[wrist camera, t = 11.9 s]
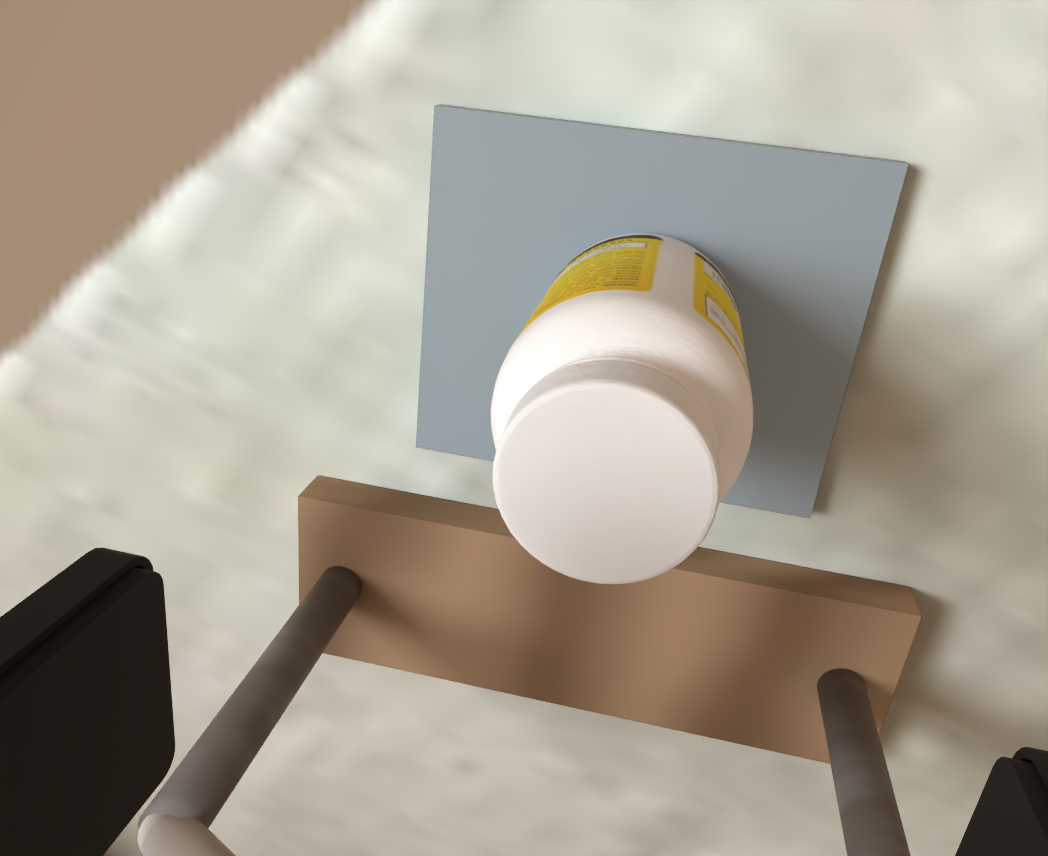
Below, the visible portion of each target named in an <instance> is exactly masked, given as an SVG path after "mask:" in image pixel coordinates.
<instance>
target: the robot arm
mask: <svg viewBox="0 0 1048 856" xmlns="http://www.w3.org/2000/svg"><path fill="white" fill-rule="evenodd" d="M174 752H175V737H174V723H173V709H172V695H171V681H170V667H169V654H168V640H167V626H166V612H165V598H164V584H163V579H162V577H161V575H160V574H159V573H157V572H154V571H153V567H152V564H151V562H150V561H149V559H147V558H145V557H143V556H139V555H134V554H130V553H125V552H120V551H116V550H111V549H106V548H95V549H93V550H91V551H89V552H88V553H86V554H85V555H84V556H82V557H81V558H80V559H78V560H77V561H76V562H74V563H73V564H71V565H70V566H69V567H67V568H66V569H65V570H63V571H62V572H61V573H59V574H58V575H57V576H55V577H54V578H53V579H51V580H50V581H49V582H47V583H46V584H45V585H43V586H42V587H41V588H39V589H38V590H36V591H35V592H34V593H32V594H31V595H30V596H28V597H27V598H26V599H24V600H23V601H22V602H20V603H19V604H18V605H16V606H15V607H14V608H12V609H11V610H10V611H8V612H7V613H5V614H4V615H3V616H1V617H0V856H103V855H104V853H105V852H106V851H107V850H108V848H109V847H110V846H111V845H112V843H113V842H114V841H115V840H116V838H117V837H118V836H119V835H120V833H121V832H122V831H123V829H124V828H125V827H126V826H127V824H128V823H129V822H130V821H131V819H132V818H133V817H134V816H135V814H136V813H137V812H138V811H139V809H140V808H141V807H142V806H143V804H144V803H145V802H146V800H147V799H148V798H149V797H150V795H151V794H152V793H153V792H154V790H155V789H156V788H157V787H158V785H159V784H160V783H161V782H162V780H163V779H164V777H165V776H166V774H167V772H168V770H169V768H170V766H171V763H172V760H173V757H174ZM955 856H1048V751H1044V750H1039V749H1035V748H1030V747H1024V748H1021V749H1020V750H1018V751H1017V752H1016V753H1015V755H1014V757H1013V758H1007V757H1000V758H999V759H998V760H997V761H996V762H995V764H994V766H993V768H992V770H991V773H990V775H989V777H988V780H987V782H986V784H985V787H984V789H983V791H982V794H981V796H980V799H979V801H978V803H977V806H976V808H975V810H974V813H973V815H972V817H971V820H970V822H969V824H968V827H967V829H966V831H965V834H964V836H963V839H962V841H961V843H960V846H959V848H958V850H957V853H956V855H955Z"/></svg>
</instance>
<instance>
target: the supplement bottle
mask: <svg viewBox="0 0 1048 856" xmlns="http://www.w3.org/2000/svg"><path fill="white" fill-rule="evenodd" d="M491 428H492V434H493V440H494V444H495V448H496V454H495V458H494V464H493V488H494V494H495V499H496V503H497V506H498V508H499V511H500V514H501V516H502V518H503V520H504V522H505V523H506V525H507V527H508V529H509V530H510V532H511V534H512V535H513V536H514V537H515V538H516V540H517V541H518V542H519V543H520V545H522V546H523V547H524V548H525V549H526V550H527V551H528V552H529V553H530V554H531V555H532V556H534V557H535V558H536V559H538V560H539V561H540V562H542V563H543V564H545V565H546V566H548V567H550V568H551V569H553V570H555V571H557V572H560V573H562V574H564V575H567V576H569V577H572V578H575V579H579V580H583V581H587V582H593V583H599V584H625V583H634V582H639V581H643V580H647V579H650V578H653V577H655V576H658V575H660V574H663V573H665V572H667V571H668V570H670V569H672V568H674V567H675V566H677V565H678V564H680V563H681V562H682V561H684V560H685V559H686V558H687V557H688V556H689V555H690V554H691V553H692V552H694V551H695V550H696V549H697V547H698V546H699V545H700V543H701V542H702V541H703V540H704V538H705V537H706V535H707V533H708V531H709V529H710V527H711V525H712V523H713V521H714V519H715V515H716V512H717V508H718V504H719V502H720V501H721V500H722V499H723V498H724V497H725V496H726V494H727V493H728V492H729V490H730V489H731V488H732V486H733V485H734V483H735V481H736V480H737V478H738V476H739V474H740V472H741V470H742V468H743V465H744V463H745V460H746V457H747V455H748V452H749V448H750V443H751V438H752V432H753V401H752V392H751V386H750V380H749V374H748V367H747V361H746V355H745V349H744V343H743V335H742V328H741V322H740V316H739V311H738V307H737V304H736V301H735V298H734V295H733V293H732V291H731V289H730V287H729V285H728V283H727V281H726V279H725V278H724V276H723V275H722V273H721V272H720V271H719V269H718V268H717V267H716V266H715V265H714V264H713V263H712V262H711V261H710V260H709V259H708V258H707V257H706V256H705V255H703V254H702V253H701V252H699V251H698V250H696V249H695V248H693V247H692V246H690V245H688V244H686V243H684V242H682V241H680V240H677V239H674V238H672V237H668V236H664V235H658V234H652V233H630V234H622V235H618V236H614V237H610V238H607V239H604V240H602V241H600V242H597V243H595V244H594V245H592V246H590V247H588V248H587V249H585V250H584V251H582V252H581V253H580V254H578V255H577V256H576V257H575V258H574V259H572V260H571V261H570V262H569V263H568V264H567V265H566V266H565V267H564V269H563V270H562V271H561V272H560V273H559V275H558V276H557V277H556V279H555V280H554V282H553V283H552V285H551V286H550V288H549V290H548V291H547V293H546V295H545V296H544V298H543V300H542V301H541V303H540V304H539V306H538V307H537V308H536V310H535V311H534V313H533V314H532V316H531V317H530V319H529V320H528V322H527V323H526V325H525V327H524V328H523V330H522V331H521V333H520V334H519V336H518V337H517V339H516V340H515V342H514V343H513V345H512V346H511V348H510V350H509V352H508V354H507V356H506V358H505V360H504V362H503V364H502V366H501V368H500V371H499V374H498V377H497V379H496V383H495V387H494V392H493V397H492V403H491Z"/></svg>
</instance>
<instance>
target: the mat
mask: <svg viewBox="0 0 1048 856" xmlns="http://www.w3.org/2000/svg"><path fill="white" fill-rule="evenodd" d="M908 165H909V164H908V163H906V162H904V161H896V160H888V159H880V158H871V157H863V156H855V155H847V154H839V153H831V152H823V151H814V150H806V149H798V148H790V147H782V146H774V145H766V144H757V143H749V142H741V141H733V140H725V139H717V138H709V137H700V136H692V135H684V134H676V133H668V132H660V131H652V130H643V129H635V128H627V127H619V126H611V125H603V124H595V123H586V122H578V121H570V120H562V119H554V118H546V117H538V116H529V115H521V114H513V113H505V112H497V111H489V110H481V109H472V108H464V107H456V106H448V105H435V106H434V123H433V141H432V160H431V178H430V197H429V215H428V233H427V252H426V270H425V289H424V307H423V325H422V344H421V362H420V381H419V399H418V417H417V436H416V447H417V448H423V449H428V450H434V451H439V452H445V453H450V454H456V455H462V456H467V457H473V458H478V459H484V460H489V461H494V458H495V454H496V448H495V444H494V440H493V434H492V428H491V403H492V397H493V392H494V387H495V383H496V379H497V377H498V374H499V371H500V368H501V366H502V364H503V362H504V360H505V358H506V356H507V354H508V352H509V350H510V348H511V346H512V345H513V343H514V342H515V340H516V339H517V337H518V336H519V334H520V333H521V331H522V330H523V328H524V327H525V325H526V323H527V322H528V320H529V319H530V317H531V316H532V314H533V313H534V311H535V310H536V308H537V307H538V306H539V304H540V303H541V301H542V300H543V298H544V296H545V295H546V293H547V291H548V290H549V288H550V286H551V285H552V283H553V282H554V280H555V279H556V277H557V276H558V275H559V273H560V272H561V271H562V270H563V269H564V267H565V266H566V265H567V264H568V263H569V262H570V261H571V260H572V259H574V258H575V257H576V256H577V255H578V254H580V253H581V252H582V251H584V250H585V249H587V248H588V247H590V246H592V245H594V244H595V243H597V242H600V241H602V240H604V239H607V238H610V237H614V236H618V235H622V234H630V233H652V234H658V235H664V236H668V237H672V238H674V239H677V240H680V241H682V242H684V243H686V244H688V245H690V246H692V247H693V248H695V249H696V250H698V251H699V252H701V253H702V254H703V255H705V256H706V257H707V258H708V259H709V260H710V261H711V262H712V263H713V264H714V265H715V266H716V267H717V268H718V269H719V271H720V272H721V273H722V275H723V276H724V278H725V279H726V281H727V283H728V285H729V287H730V289H731V291H732V293H733V295H734V298H735V301H736V304H737V307H738V311H739V316H740V322H741V328H742V335H743V343H744V349H745V355H746V361H747V367H748V374H749V380H750V386H751V392H752V401H753V432H752V438H751V443H750V448H749V452H748V455H747V457H746V460H745V463H744V465H743V468H742V470H741V472H740V474H739V476H738V478H737V480H736V481H735V483H734V485H733V486H732V488H731V489H730V490H729V492H728V493H727V494H726V496H725V497H724V498H723V499H722V500H721V501H720V502H722V503H727V504H733V505H738V506H744V507H749V508H755V509H760V510H766V511H771V512H777V513H783V514H788V515H794V516H799V517H805V518H810V517H811V513H812V509H813V506H814V502H815V499H816V495H817V491H818V488H819V484H820V481H821V477H822V473H823V470H824V466H825V463H826V459H827V456H828V452H829V448H830V445H831V441H832V438H833V434H834V430H835V427H836V423H837V420H838V416H839V412H840V409H841V405H842V402H843V398H844V395H845V391H846V387H847V384H848V380H849V377H850V373H851V369H852V366H853V362H854V359H855V355H856V351H857V348H858V344H859V341H860V337H861V333H862V330H863V326H864V323H865V319H866V316H867V312H868V308H869V305H870V301H871V298H872V294H873V290H874V287H875V283H876V280H877V276H878V272H879V269H880V265H881V262H882V258H883V254H884V251H885V247H886V244H887V240H888V237H889V233H890V229H891V226H892V222H893V219H894V215H895V211H896V208H897V204H898V201H899V197H900V193H901V190H902V186H903V183H904V179H905V176H906V172H907V168H908Z"/></svg>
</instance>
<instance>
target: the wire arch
mask: <svg viewBox="0 0 1048 856" xmlns="http://www.w3.org/2000/svg"><path fill="white" fill-rule="evenodd" d="M298 532H299V606H298V608H297V609H296V610H295V612H294V613H293V614H292V616H291V617H290V618H289V620H288V621H287V622H286V624H285V625H284V626H283V628H282V629H281V630H280V631H279V633H278V634H277V635H276V637H275V638H274V639H273V641H272V642H271V643H270V645H269V646H268V647H267V649H266V650H265V651H264V653H263V654H262V655H261V657H260V658H259V659H258V661H257V662H256V663H255V665H254V666H253V667H252V669H251V670H250V671H249V673H248V674H247V675H246V677H245V678H244V679H243V681H242V682H241V683H240V685H239V686H238V687H237V689H236V690H235V691H234V693H233V694H232V695H231V697H230V698H229V699H228V701H227V702H226V703H225V705H224V706H223V707H222V709H221V710H220V711H219V713H218V714H217V715H216V717H215V718H214V719H213V721H212V722H211V723H210V725H209V726H208V727H207V729H206V730H205V731H204V733H203V734H202V735H201V737H200V738H199V739H198V741H197V742H196V743H195V745H194V746H193V747H192V749H191V750H190V751H189V753H188V754H187V755H186V757H185V758H184V759H183V761H182V762H181V763H180V764H179V766H178V767H177V768H176V770H175V771H174V772H173V774H172V775H171V776H170V778H169V779H168V780H167V782H166V783H165V784H164V786H163V787H162V788H161V790H160V791H159V792H158V794H157V795H156V796H155V798H154V799H153V800H152V802H151V803H150V804H149V806H148V807H147V808H146V810H145V811H144V812H143V814H142V815H141V817H140V818H139V822H138V826H139V833H138V845H139V848H140V851H141V852H142V854H143V855H144V856H235V855H234V854H233V853H232V852H231V851H230V850H229V849H228V848H227V847H226V846H225V845H224V844H223V843H222V842H221V841H220V840H219V839H218V838H217V837H216V836H215V835H214V834H213V833H212V832H211V831H210V830H209V829H208V828H209V826H210V825H211V823H212V822H213V820H214V819H215V817H216V816H217V814H218V813H219V811H220V809H221V808H222V806H223V805H224V803H225V802H226V800H227V799H228V797H229V796H230V794H231V793H232V791H233V790H234V788H235V786H236V785H237V783H238V782H239V780H240V779H241V777H242V776H243V774H244V773H245V771H246V770H247V768H248V766H249V765H250V763H251V762H252V760H253V759H254V757H255V756H256V754H257V753H258V751H259V750H260V748H261V746H262V745H263V743H264V742H265V740H266V739H267V737H268V736H269V734H270V733H271V731H272V730H273V728H274V727H275V725H276V723H277V722H278V720H279V719H280V717H281V716H282V714H283V713H284V711H285V710H286V708H287V707H288V705H289V703H290V702H291V700H292V699H293V697H294V696H295V694H296V693H297V691H298V690H299V688H300V687H301V685H302V684H303V682H304V680H305V679H306V677H307V676H308V674H309V673H310V671H311V670H312V668H313V667H314V665H315V664H316V662H317V660H318V659H319V657H320V656H321V654H322V653H326V654H330V655H335V656H340V657H344V658H349V659H353V660H358V661H363V662H367V663H372V664H376V665H381V666H385V667H390V668H395V669H399V670H404V671H408V672H413V673H417V674H422V675H427V676H431V677H436V678H440V679H445V680H450V681H454V682H459V683H463V684H468V685H472V686H477V687H482V688H486V689H491V690H495V691H500V692H504V693H509V694H514V695H518V696H523V697H527V698H532V699H536V700H541V701H546V702H550V703H555V704H559V705H564V706H569V707H573V708H578V709H582V710H587V711H591V712H596V713H601V714H605V715H610V716H614V717H619V718H623V719H628V720H633V721H637V722H642V723H646V724H651V725H655V726H660V727H665V728H669V729H674V730H678V731H683V732H688V733H692V734H697V735H701V736H706V737H710V738H715V739H720V740H724V741H729V742H733V743H738V744H742V745H747V746H752V747H756V748H761V749H765V750H770V751H775V752H779V753H784V754H788V755H793V756H797V757H802V758H807V759H811V760H816V761H820V762H825V763H829V764H831V768H832V773H833V779H834V784H835V790H836V795H837V801H838V806H839V812H840V817H841V823H842V828H843V834H844V839H845V845H846V850H847V855H848V856H910V853H909V849H908V845H907V841H906V837H905V833H904V830H903V826H902V822H901V818H900V814H899V811H898V807H897V803H896V799H895V795H894V792H893V788H892V784H891V780H890V776H889V772H888V769H887V765H886V761H885V757H884V753H883V750H882V746H881V742H880V738H879V733H880V730H881V728H882V725H883V722H884V719H885V717H886V714H887V711H888V708H889V705H890V703H891V700H892V697H893V694H894V692H895V689H896V686H897V683H898V681H899V678H900V675H901V672H902V669H903V667H904V664H905V661H906V658H907V656H908V653H909V650H910V647H911V645H912V642H913V639H914V636H915V634H916V631H917V628H918V625H919V622H920V620H921V617H922V616H921V613H920V611H919V608H918V606H917V603H916V601H915V598H914V596H913V593H912V591H911V588H910V587H906V586H901V585H895V584H890V583H885V582H879V581H874V580H869V579H863V578H858V577H853V576H848V575H842V574H837V573H832V572H826V571H821V570H816V569H810V568H805V567H800V566H795V565H789V564H784V563H779V562H773V561H768V560H763V559H757V558H752V557H747V556H741V555H736V554H731V553H726V552H720V551H715V550H710V549H704V548H699V547H697V549H696V550H695V551H694V552H692V553H691V554H690V555H689V556H688V557H687V558H686V559H685V560H684V561H682V562H681V563H680V564H678V565H677V566H675V567H674V568H672V569H670V570H668V571H667V572H665V573H663V574H660V575H658V576H655V577H653V578H650V579H647V580H643V581H639V582H634V583H625V584H599V583H593V582H587V581H583V580H579V579H575V578H572V577H569V576H567V575H564V574H562V573H560V572H557V571H555V570H553V569H551V568H550V567H548V566H546V565H545V564H543V563H542V562H540V561H539V560H538V559H536V558H535V557H534V556H532V555H531V554H530V553H529V552H528V551H527V550H526V549H525V548H524V547H523V546H522V545H520V543H519V542H518V541H517V540H516V538H515V537H514V536H513V535H512V534H511V532H510V530H509V529H508V527H507V525H506V523H505V522H504V520H503V518H502V516H501V514H500V511H499V510H497V509H492V508H487V507H482V506H476V505H471V504H466V503H460V502H455V501H450V500H444V499H439V498H434V497H428V496H423V495H418V494H413V493H407V492H402V491H397V490H391V489H386V488H381V487H375V486H370V485H365V484H360V483H354V482H349V481H344V480H338V479H333V478H328V477H322V476H317V477H316V478H315V479H314V480H313V481H312V482H311V483H310V484H309V485H308V486H307V487H306V489H305V490H304V491H303V492H302V493H301V494H300V495H299V496H298Z"/></svg>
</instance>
